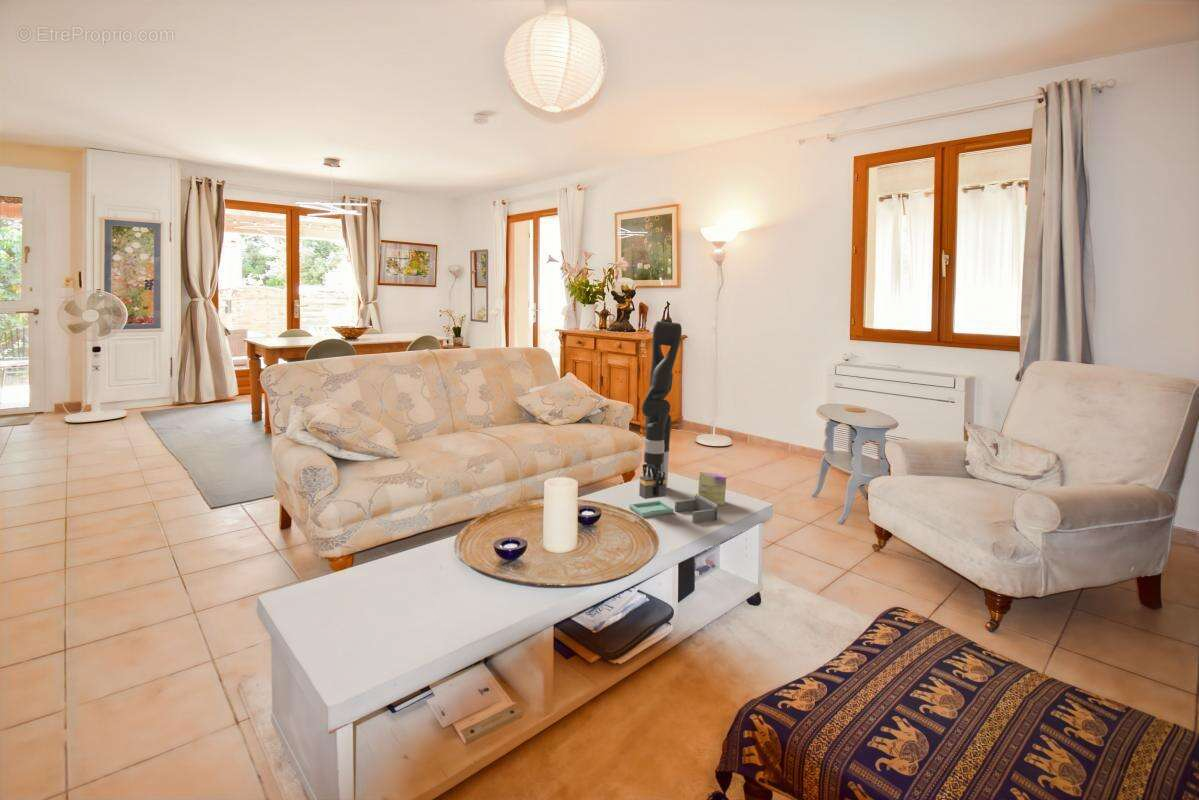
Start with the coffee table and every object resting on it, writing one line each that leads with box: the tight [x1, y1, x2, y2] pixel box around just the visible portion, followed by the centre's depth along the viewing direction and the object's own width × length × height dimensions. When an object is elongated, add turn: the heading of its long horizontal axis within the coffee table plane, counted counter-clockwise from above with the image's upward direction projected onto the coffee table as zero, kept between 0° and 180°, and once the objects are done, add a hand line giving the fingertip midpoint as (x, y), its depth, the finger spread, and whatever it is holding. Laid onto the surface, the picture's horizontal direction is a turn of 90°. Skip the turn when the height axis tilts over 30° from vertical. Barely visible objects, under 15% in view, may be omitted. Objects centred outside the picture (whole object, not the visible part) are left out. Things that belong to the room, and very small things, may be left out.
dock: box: [674, 493, 719, 524], centre depth 226 cm, size 14×10×6 cm
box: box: [697, 471, 727, 506], centre depth 242 cm, size 10×6×12 cm, turn 84°
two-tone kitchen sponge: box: [638, 476, 666, 500], centre depth 229 cm, size 9×5×8 cm, turn 114°
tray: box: [629, 499, 675, 518], centre depth 230 cm, size 11×14×2 cm
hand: (652, 493), depth 229 cm, fingers closed on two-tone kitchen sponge, 4 cm apart
